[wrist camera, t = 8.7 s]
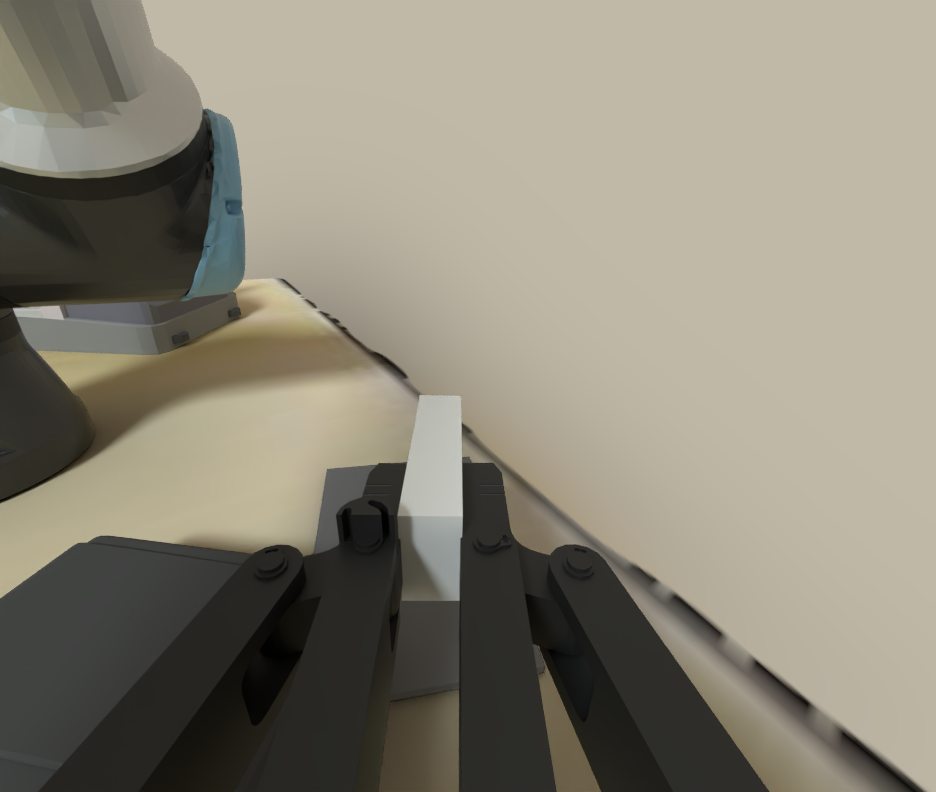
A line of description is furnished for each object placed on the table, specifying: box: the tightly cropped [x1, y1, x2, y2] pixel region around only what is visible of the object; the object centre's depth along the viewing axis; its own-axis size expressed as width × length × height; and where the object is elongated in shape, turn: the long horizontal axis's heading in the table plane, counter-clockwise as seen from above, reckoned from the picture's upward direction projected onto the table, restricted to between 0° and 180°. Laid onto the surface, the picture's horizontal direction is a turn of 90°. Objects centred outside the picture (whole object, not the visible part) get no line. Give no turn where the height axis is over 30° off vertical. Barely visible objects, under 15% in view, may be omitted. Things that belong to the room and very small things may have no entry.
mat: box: [314, 457, 545, 701], centre depth 25 cm, size 16×10×1 cm, turn 11°
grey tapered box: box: [13, 292, 241, 355], centre depth 57 cm, size 21×21×15 cm
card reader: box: [0, 536, 288, 792], centre depth 16 cm, size 9×4×15 cm
